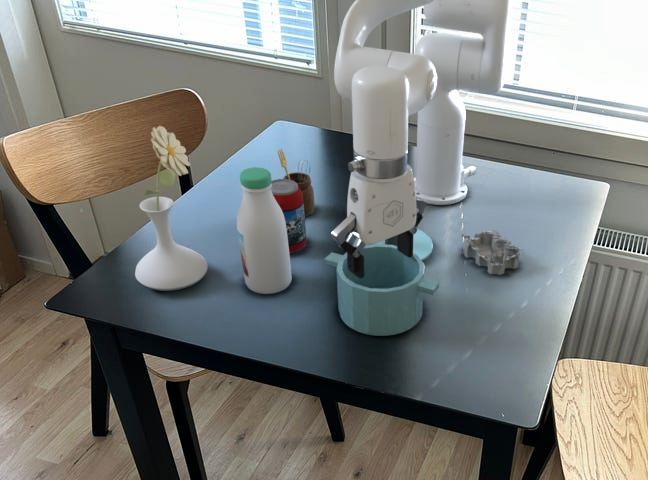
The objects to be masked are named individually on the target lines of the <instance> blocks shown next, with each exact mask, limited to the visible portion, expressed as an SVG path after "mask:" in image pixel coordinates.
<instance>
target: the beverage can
mask: <svg viewBox="0 0 648 480" xmlns="http://www.w3.org/2000/svg"><path fill="white" fill-rule="evenodd" d="M271 183H272V187H271V191H272V194H273V196H274V198H275V200H276V202H277V203H278V205H279V206H280V208H281V210H282V212H283V215H284V218H285V222H286V229H287V237H288V246H289V254H291V253H295V252H298V251H299V250H301V249H303V248H304V247H306V244H307V229H306V216H305V215H304V204H303V194H302V191H301V190H300V189H299V187H298V184H297V183H296V182H294V181H292V180H289V179H284V178H277V179H273V180H271Z"/></svg>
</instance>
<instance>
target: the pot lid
mask: <svg viewBox="0 0 648 480" xmlns="http://www.w3.org/2000/svg"><path fill="white" fill-rule="evenodd" d="M358 241H359V239H358V238H357V239H356V241H355V242H354V244H353V246H354V247H355V246H356V244H357V243H358ZM376 244H383V245H394V246H397V235H396V236H394V237H391V238H389V239H386V240H384V241H381V242H378V243H376ZM372 245H373V244H372ZM365 246H367V244H366V245H365ZM433 248H434V245H433V241H432V239H431V237H430V236H429V235H428V234H427V233H426V232H425V231H423V230H421V229H419V228H417V232H416V233H415V234H413V253H414V254H416V255H418V256H419V258H420V259H421V261H422V262H424V261H425V260H426V259H428V258H429V257H430V256H431V254H432V253H433Z"/></svg>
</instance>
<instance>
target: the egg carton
mask: <svg viewBox="0 0 648 480" xmlns="http://www.w3.org/2000/svg"><path fill="white" fill-rule="evenodd" d="M461 237H463V239H465V240H464V247H463V248H464V249H463V255H464V257H465V258H473V259H475V265H477V266H479V267H486V268H487V273H488V274H490V275H499V276H500V275H503V274H505V272H506V271H505V270H506V269H514V270H515V269H516V268H518V267H519V259H520V255H521V254H522V253H523V252H524V251H525V249H524V248H520V247H519V246H517V245H516V244H513V241H511V240H508V239H507V238H506V237H503V236H502V234H500V232H498V231H497V230H493V229H491V230H486V231H483V230H482V231H481V232H480V233H475V234H474V236H473V237H470V234H465V233H462V234H461Z"/></svg>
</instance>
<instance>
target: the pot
mask: <svg viewBox="0 0 648 480" xmlns="http://www.w3.org/2000/svg"><path fill="white" fill-rule="evenodd" d="M361 254H362V255H363V256H364V277H363V278H361V279H360V278H358V277H357V276H356V275H354V274H353V273H351V272H350V271H349V269H348V264H347V252H346V251H345V253H344V254H340V253H336V252H333V251H332V252H330V253H329V254H328V255H327V256H326V257H325V258H324V259H323V260H324V265H327V266H330V267H334V268H336V284H337V285H336V287H337V288H336V289H337V305H338V312H339V316H340V319H341V320H342V321H343V323H344V324H345V325H346V326H348V327H349V328H350V329H352V330H354V331H356V332H358V333H360V334H365V335H369V336H378V337H379V336H380V337H384V336H385V337H387V336H394V335H397V334H401V333H404V332H407V331H409V330H410V329H412V328H414V327H415V326H416V325H417V324H419V322H420V321H421V319H422V316H423V307H424V306H423V305H424V294H427V295H431V296H434V295H435V293H436V292H437V290H438V289H439V288H440V282H439V281H435V280H432V279H428V278H425V263H424V261H421V259H420V258H419V256H418V255H416V254H414V253H413V256H412V257H410V258H409V257H407V256H405V255H404V254H402V253H401V252H399V251H398V250H397V246H394V245H383V244H373V245H367V246H365V247H364V249H363V250H362V252H361Z"/></svg>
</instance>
